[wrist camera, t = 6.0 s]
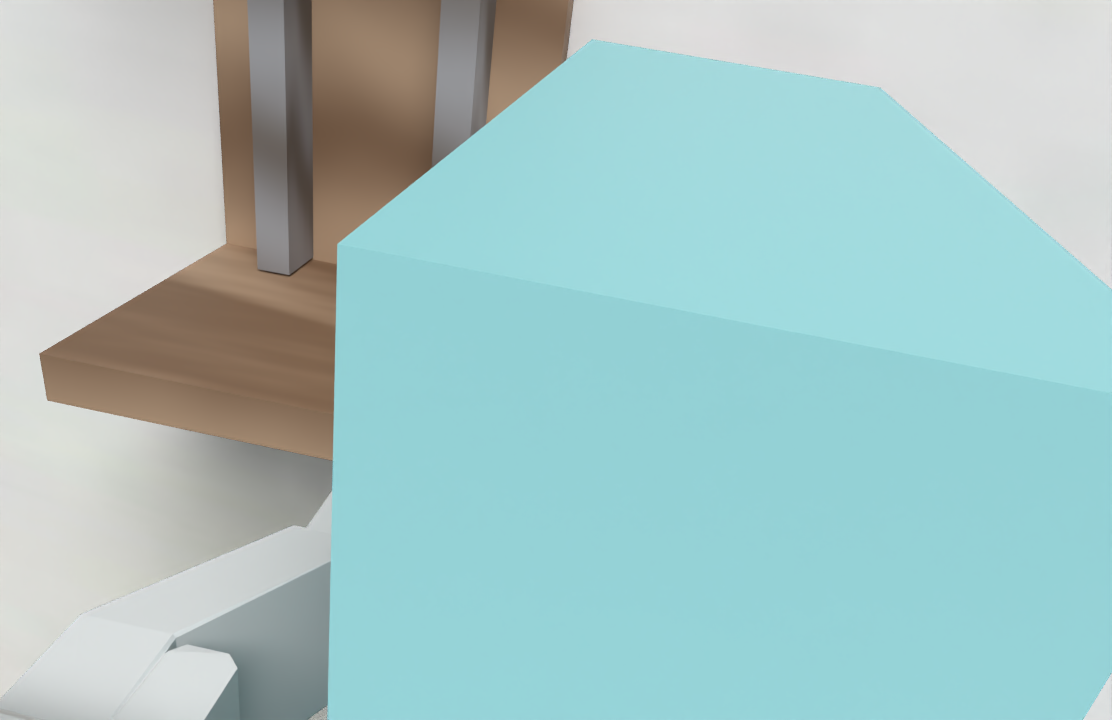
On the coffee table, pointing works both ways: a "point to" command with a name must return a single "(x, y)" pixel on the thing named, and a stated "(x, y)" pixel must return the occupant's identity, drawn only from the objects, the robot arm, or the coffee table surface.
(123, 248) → the coffee table surface
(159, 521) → the coffee table surface
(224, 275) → the cabinet base
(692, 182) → the door panel
